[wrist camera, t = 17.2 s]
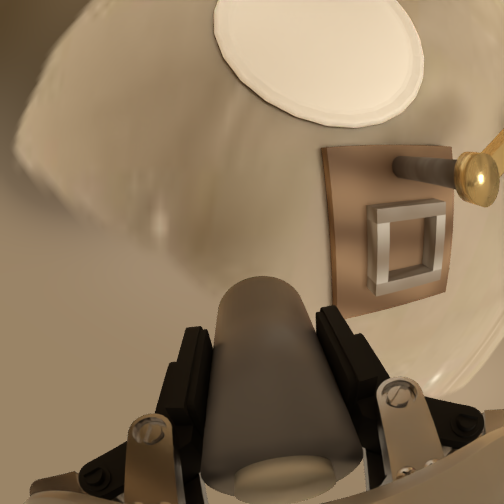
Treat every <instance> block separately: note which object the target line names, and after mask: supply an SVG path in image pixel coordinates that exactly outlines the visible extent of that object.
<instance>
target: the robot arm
mask: <svg viewBox="0 0 504 504" xmlns="http://www.w3.org/2000/svg"><path fill="white" fill-rule="evenodd" d="M316 334H317V337H318V339H319V341H320V344H321V346H322V348H323V351H324V353H325V356H326V358H327V360H328V363H329V365H330V368H331V370H332V372H333V375H334V377H335V380H336V382H337V385H338V387H339V390H340V392H341V395H342V397H343V400H344V402H345V405H346V407H347V410H348V412H349V415H350V417H351V420H352V422H353V425H354V427H355V430H356V433H357V435H358V438H359V440H360V443H361V446H362V448H363V452H364V455H363V462H364V473H365V484H366V492H363V493H360V494H356V495H353V496H350V497H346V498H342V499H338V500H334V501H330V502H326V503H321V504H504V409H497V410H485V411H484V412H483V413H480V411H479V410H477V409H476V408H474V407H471V406H466V405H461V404H456V403H451V402H447V401H442V400H438V399H433V398H429V397H425V396H424V395H423V392H422V390H421V388H420V386H419V385H418V383H416V382H415V381H414V380H412V379H410V378H407V377H393V378H390V377H389V375H388V373H387V372H386V370H385V369H384V367H383V365H382V364H381V362H380V361H379V359H378V357H377V356H376V354H375V353H374V351H373V349H372V348H371V346H370V345H369V343H368V342H367V340H366V339H365V337H364V336H363V335H362V334H361V333H359V334H355V335H354V334H353V332H352V331H351V329H350V328H349V326H348V324H347V323H346V321H345V319H344V318H343V316H342V315H341V313H340V311H339V310H338V308H337V307H336V305H332V306H327V307H322V308H321V309H320V312H316ZM212 354H213V347H212V344H211V340H210V337H209V334H208V331H207V329H205V330H203V329H202V327H201V326H198V327H189V328H186V330H185V333H184V337H183V340H182V344H181V347H180V351H179V355H178V359H177V362H171V363H169V366H168V369H167V372H166V376H165V379H164V382H163V386H162V389H161V393H160V397H159V400H158V403H157V407H156V411H155V414H146V415H143V416H141V417H138V418H137V419H136V420H135V421H133V423H132V424H131V426H130V427H129V430H128V437H127V441H126V442H124V443H123V444H121V445H119V446H118V447H116V448H114V449H113V450H111V451H109V452H107V453H105V454H103V455H102V456H100V457H98V458H96V459H94V460H92V461H91V462H89V463H87V464H86V465H84V466H83V467H82V469H81V470H80V472H79V473H77V472H75V471H73V472H69V473H65V474H61V475H57V476H52V477H48V478H43V479H38V480H36V481H34V482H33V483H32V484H31V487H30V497H29V498H28V499H27V500H26V501H25V503H24V504H209V503H208V498H207V493H206V488H205V482H204V481H203V480H202V478H201V475H200V473H201V461H202V449H203V438H204V428H205V418H206V408H207V399H208V389H209V380H210V371H211V363H212Z"/></svg>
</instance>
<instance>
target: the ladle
mask: <svg viewBox="0 0 504 504" xmlns="http://www.w3.org/2000/svg"><path fill="white" fill-rule="evenodd" d="M503 173H504V129H503V130H502V131H501V132H500V133H499V134H498V135H497V136H496V137H495V138H494V139H493V141H492V142H491V143H490V144H489V145H488V146H487V147H486V148H485V149H484V150H483V151H482V152H481V153H477V152H464V153H462V154H461V155H460V156H459V158H458V159H457V161H456V164H455V169H454V183H455V187H456V190H457V193H458V195H459V196H460V198H461V199H463V200H464V201H466V202H469V203H473V204H476V205H479V206H482V207H488V206H490V205H492V204H493V202H494V201H495V199H496V197H497V194H498V191H499V183H500V179H499V178H500V176H501V175H502V174H503Z"/></svg>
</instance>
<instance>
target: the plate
mask: <svg viewBox="0 0 504 504" xmlns="http://www.w3.org/2000/svg"><path fill="white" fill-rule="evenodd" d="M214 34H215V37H216V40H217V42H218V45H219V48H220V50H221V53H222V56H223V58H224V59H225V61H226V62H227V63H228V65H229V66H230V67H231V68H232V70H233V71H234V72H235V74H236V75H237V76H238V78H239V79H240V80H241V82H243V83H244V84H245V85H247V86H248V87H249V88H250V89H251V90H253V91H254V92H255V93H256V94H258V95H259V96H260V97H261V98H262V99H264V100H265V101H266V102H268V103H270V104H272V105H274V106H276V107H278V108H280V109H282V110H283V111H285V112H287V113H289V114H291V115H293V116H295V117H297V118H301V119H305V120H308V121H312V122H315V123H318V124H321V125H325V126H334V127H348V128H359V127H365V126H370V125H376V124H381V123H384V122H385V121H387V120H389V119H391V118H393V117H395V116H397V115H399V114H401V113H402V112H403V111H404V110H405V109H406V108H407V107H408V105H409V104H410V103H411V102H412V101H413V100H414V99H415V98H416V95H417V93H418V90H419V88H420V85H421V83H422V80H423V72H424V55H423V50H422V46H421V41H420V37H419V35H418V33H417V31H416V29H415V27H414V25H413V23H412V21H411V19H410V17H409V16H408V14H407V13H406V12H405V10H404V9H403V8H402V6H401V5H400V4H399V3H398V2H397V0H218V2H217V5H216V7H215V10H214Z"/></svg>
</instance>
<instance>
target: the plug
mask: <svg viewBox="0 0 504 504" xmlns="http://www.w3.org/2000/svg"><path fill="white" fill-rule="evenodd" d="M363 455H364V452H363V448H362V446H361V443H360V440H359V438H358V435H357V433H356V430H355V427H354V425H353V422H352V420H351V417H350V415H349V412H348V410H347V407H346V405H345V402H344V400H343V397H342V395H341V392H340V390H339V387H338V385H337V382H336V380H335V377H334V375H333V372H332V370H331V368H330V365H329V363H328V360H327V358H326V356H325V353H324V351H323V348H322V346H321V344H320V341H319V339H318V337H317V334H316V332H315V329H314V327H313V325H312V322H311V320H310V318H309V316H308V313H307V311H306V309H305V306H304V304H303V302H302V299H301V297H300V295H299V294H298V292H297V291H296V290H295V289H294V288H293V287H292V286H291V285H290V284H288V283H286V282H285V281H283V280H280V279H278V278H274V277H268V276H258V277H252V278H248V279H245V280H242V281H240V282H238V283H237V284H235V285H234V286H232V287H231V288H230V289H229V290H228V291H227V292H226V293H225V295H224V296H223V298H222V299H221V302H220V304H219V307H218V315H217V322H216V330H215V338H214V347H213V354H212V363H211V371H210V380H209V389H208V399H207V408H206V418H205V428H204V438H203V449H202V461H201V473H200V475H201V478H202V480H203V481H204V482H205V483H206V484H207V485H208V486H210V487H211V488H213V489H215V490H217V491H219V492H221V493H224V494H228V495H231V496H235V497H236V498H237V499H238V500H240V501H243V502H245V503H249V504H291V503H296V502H301V501H305V500H308V499H311V498H314V497H316V496H319V495H321V494H323V493H325V492H327V491H328V490H330V489H331V488H332V487H333V486H334V485H335V484H336V482H337V481H339V480H341V479H342V478H344V477H345V476H347V475H348V474H350V473H351V472H352V471H353V470H354V469H355V468H356V467H357V466H358V465H359V464H360V462H361V461H362V459H363Z"/></svg>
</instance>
